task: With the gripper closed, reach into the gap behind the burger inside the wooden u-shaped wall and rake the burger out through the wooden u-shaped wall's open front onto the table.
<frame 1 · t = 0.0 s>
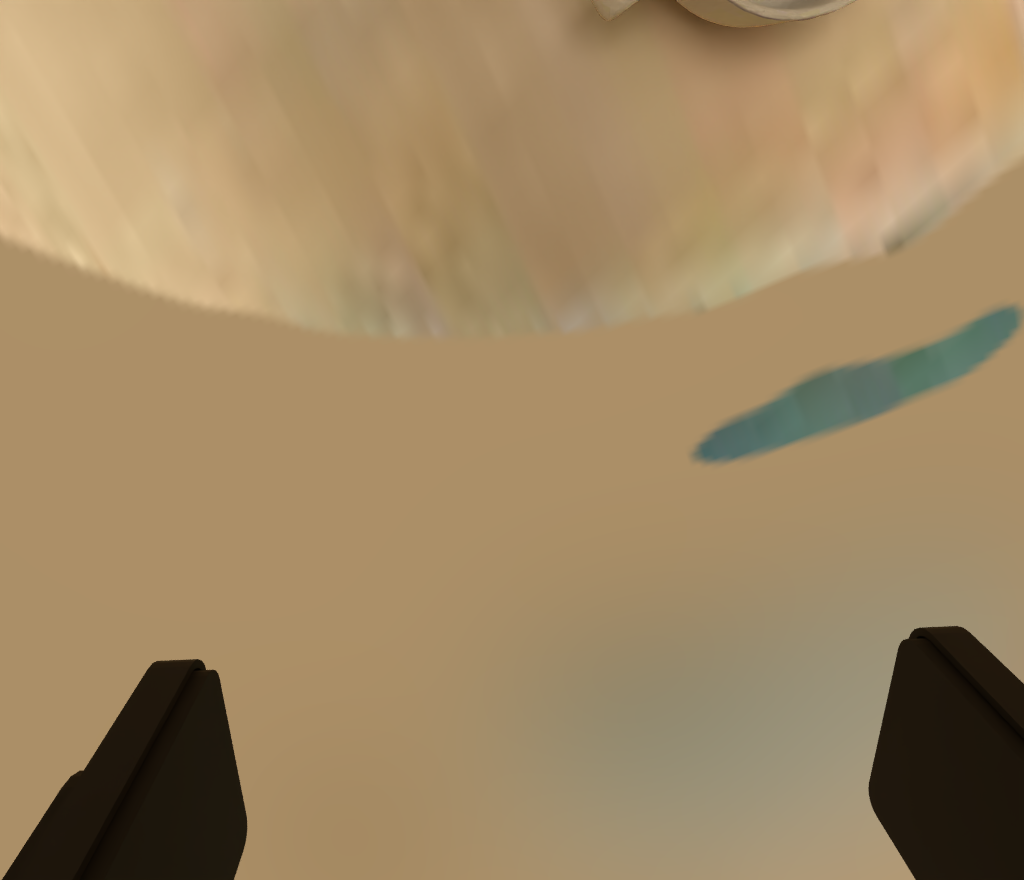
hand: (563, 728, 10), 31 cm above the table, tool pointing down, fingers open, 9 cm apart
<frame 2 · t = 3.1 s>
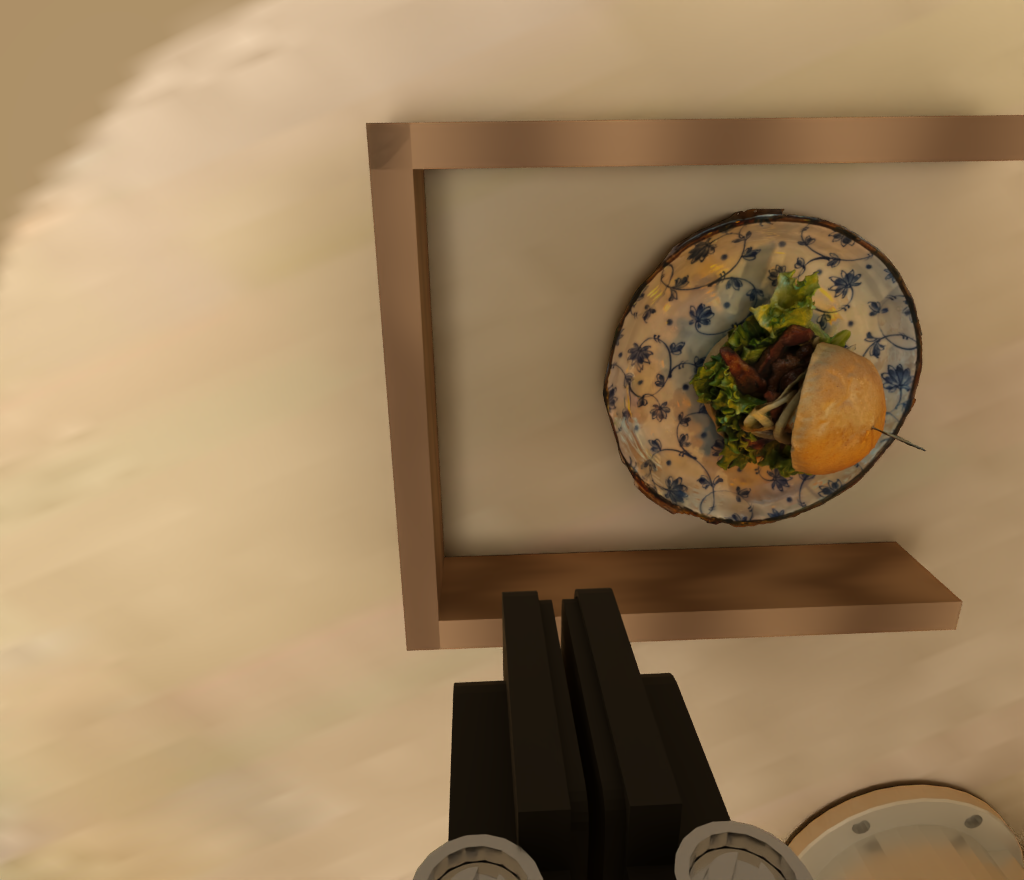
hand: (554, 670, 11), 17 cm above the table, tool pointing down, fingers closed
wooden u-shaped wall: (669, 375, 28), on the table
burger: (745, 370, 28), on the table
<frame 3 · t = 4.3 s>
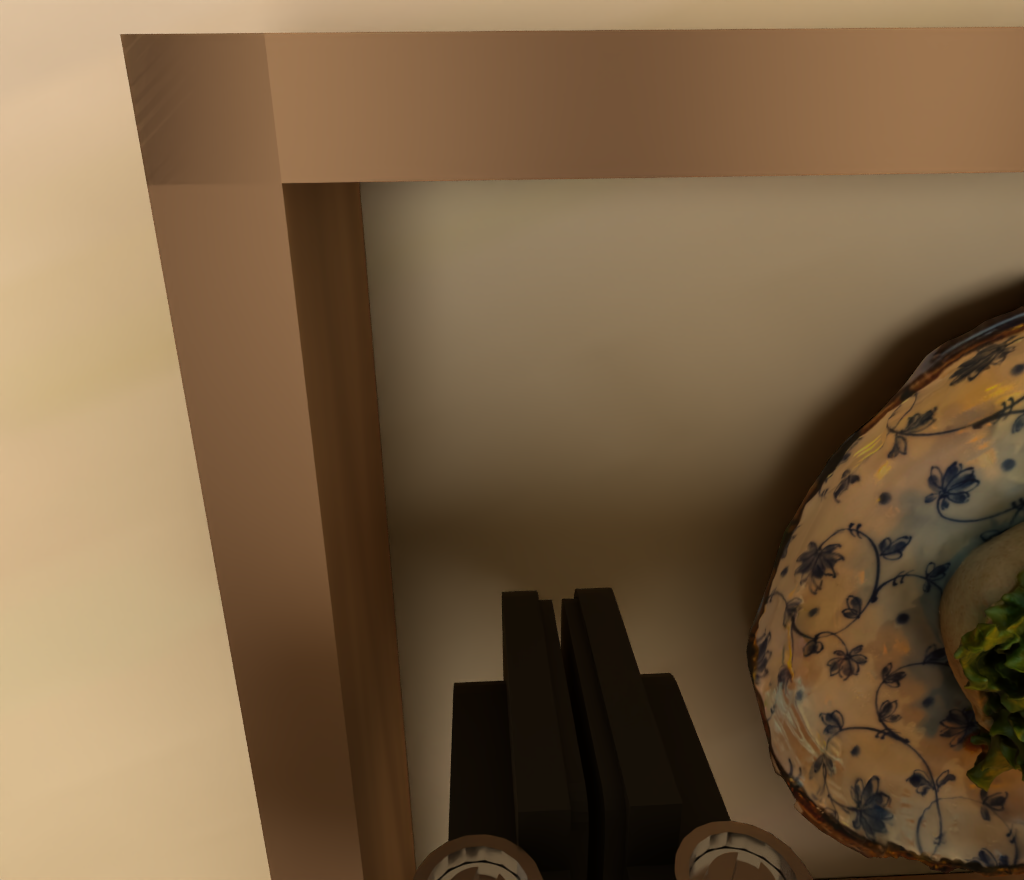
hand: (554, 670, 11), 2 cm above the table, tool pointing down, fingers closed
wooden u-shaped wall: (867, 592, 14), on the table
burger: (1008, 572, 14), on the table
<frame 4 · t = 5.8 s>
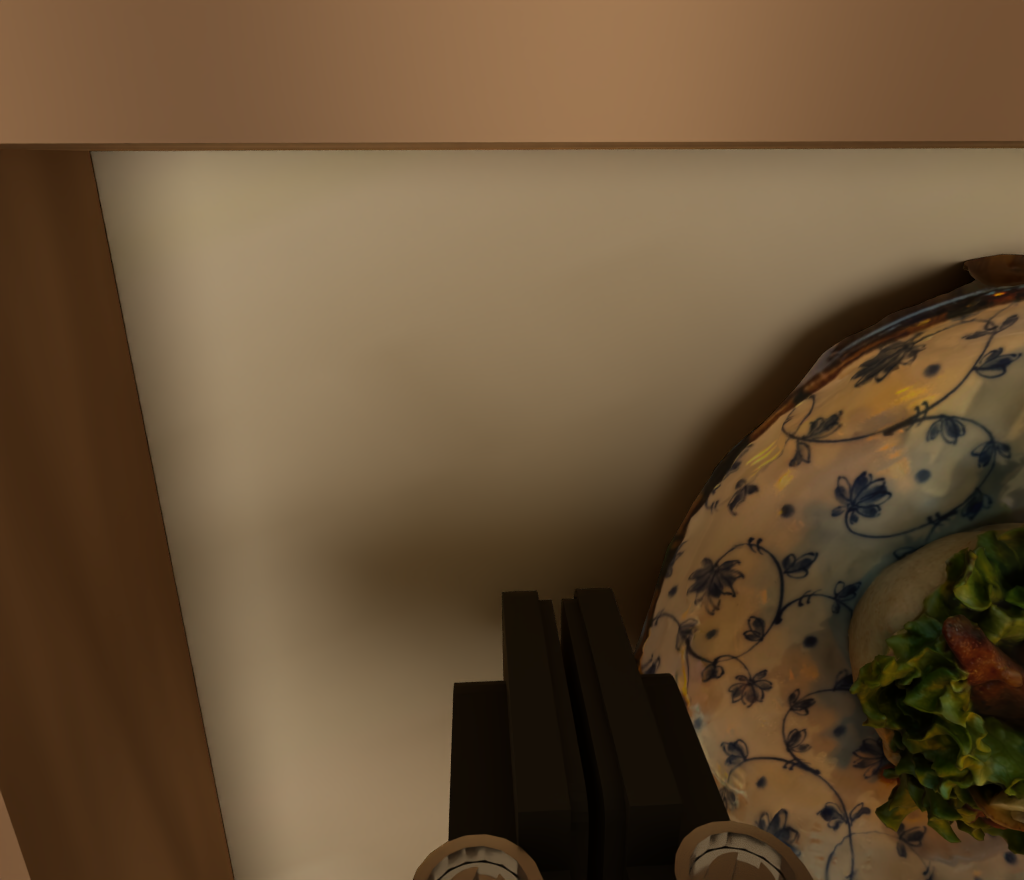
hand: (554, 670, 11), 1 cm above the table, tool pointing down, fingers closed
wooden u-shaped wall: (711, 617, 13), on the table
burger: (929, 591, 13), on the table, touching gripper
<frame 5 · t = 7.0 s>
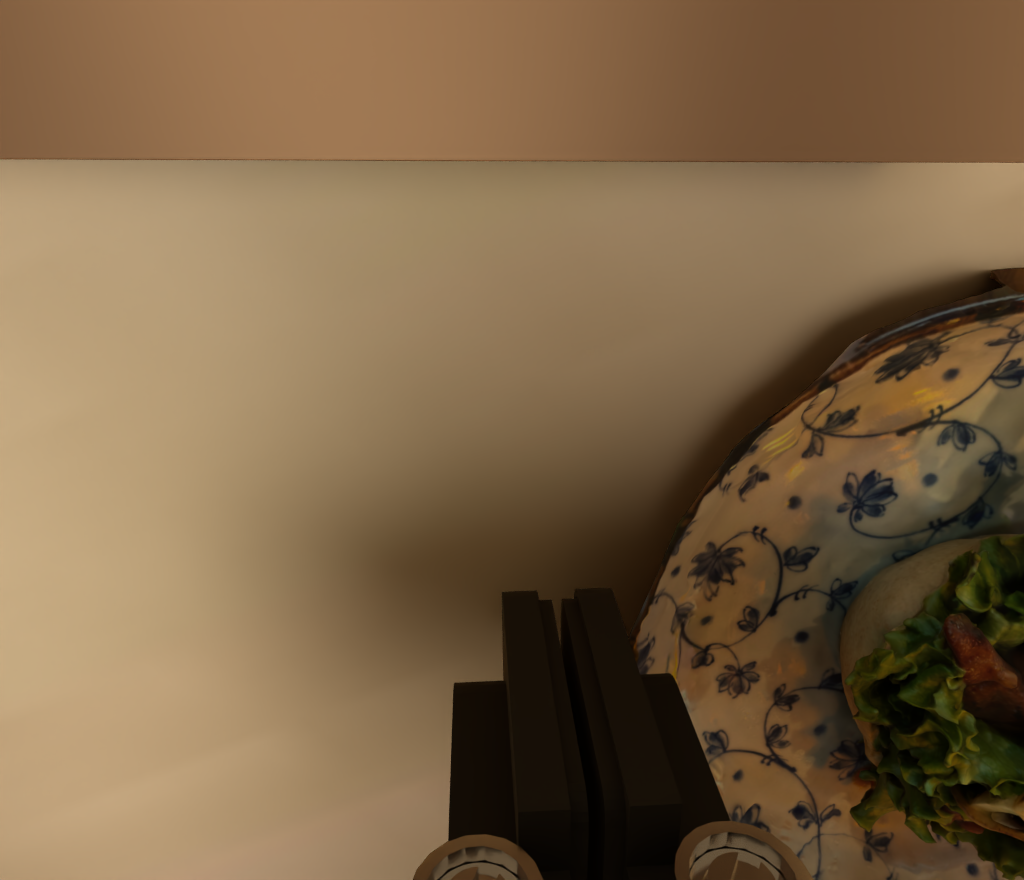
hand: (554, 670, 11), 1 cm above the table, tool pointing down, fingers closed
wooden u-shaped wall: (220, 635, 12), on the table
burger: (919, 599, 13), on the table
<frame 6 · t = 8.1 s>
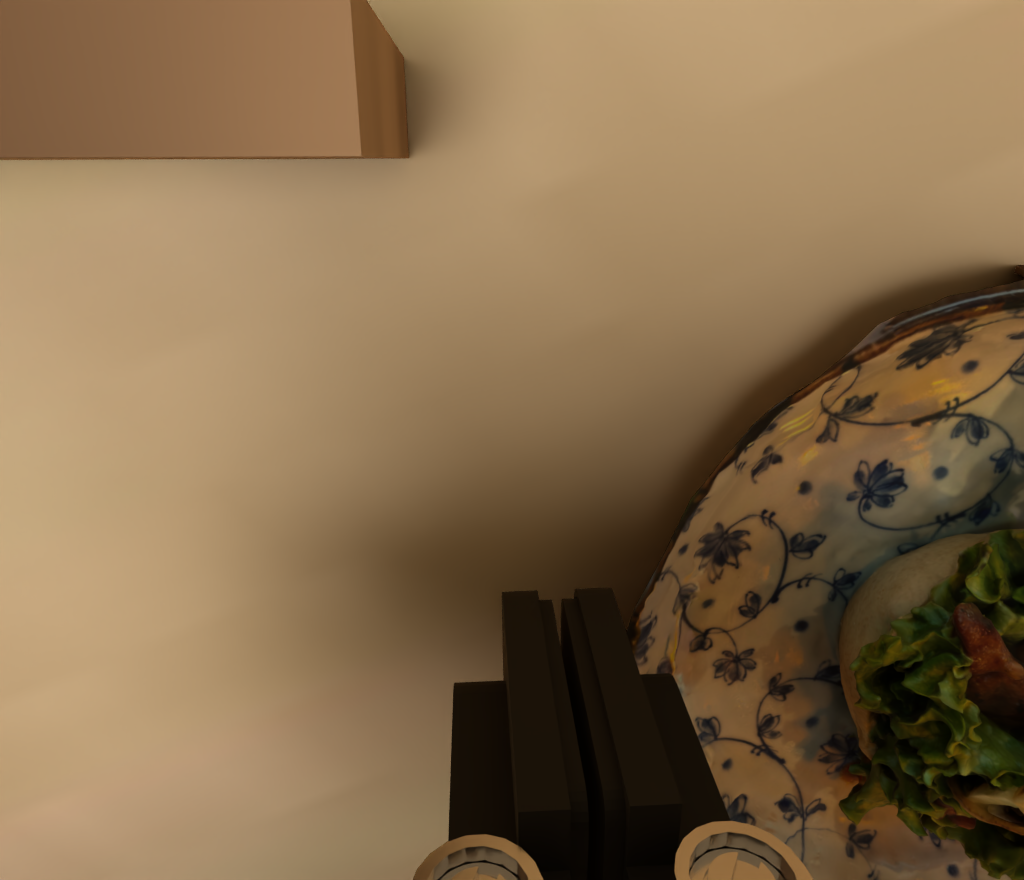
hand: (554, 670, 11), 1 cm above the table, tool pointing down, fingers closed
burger: (917, 596, 13), on the table, touching gripper
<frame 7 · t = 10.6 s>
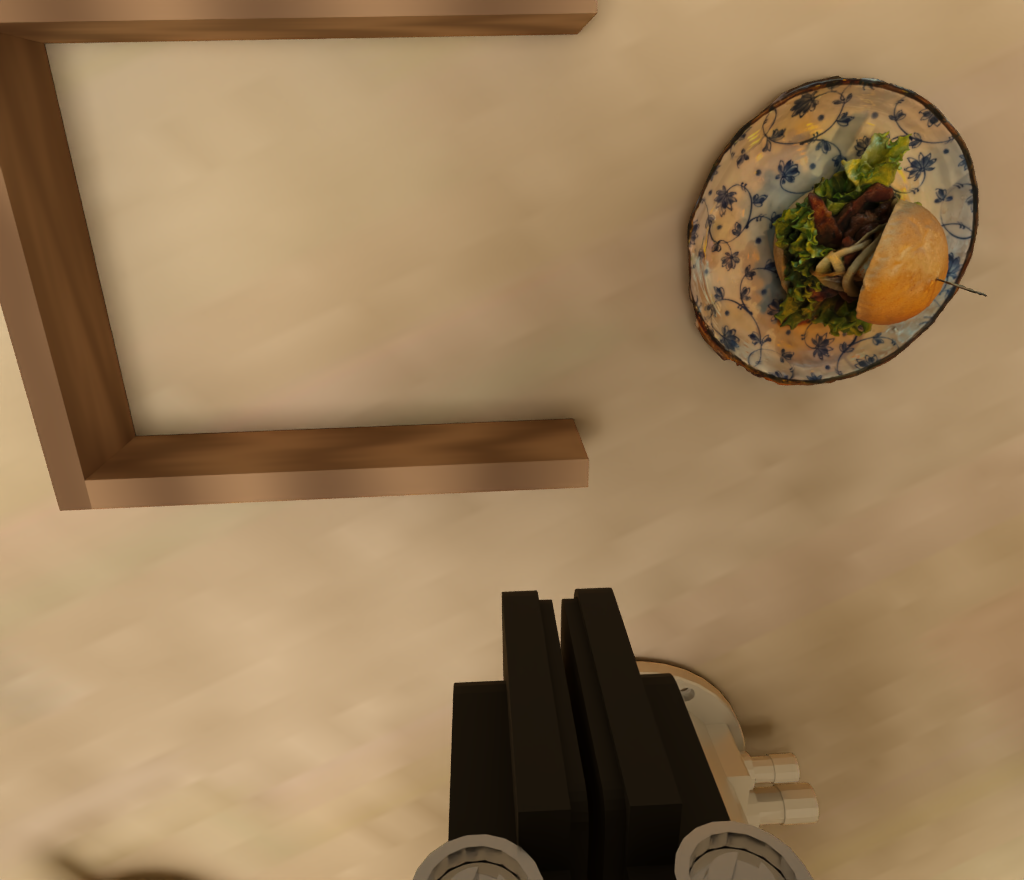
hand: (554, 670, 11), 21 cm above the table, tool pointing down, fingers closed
wooden u-shaped wall: (322, 252, 29), on the table
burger: (810, 239, 30), on the table
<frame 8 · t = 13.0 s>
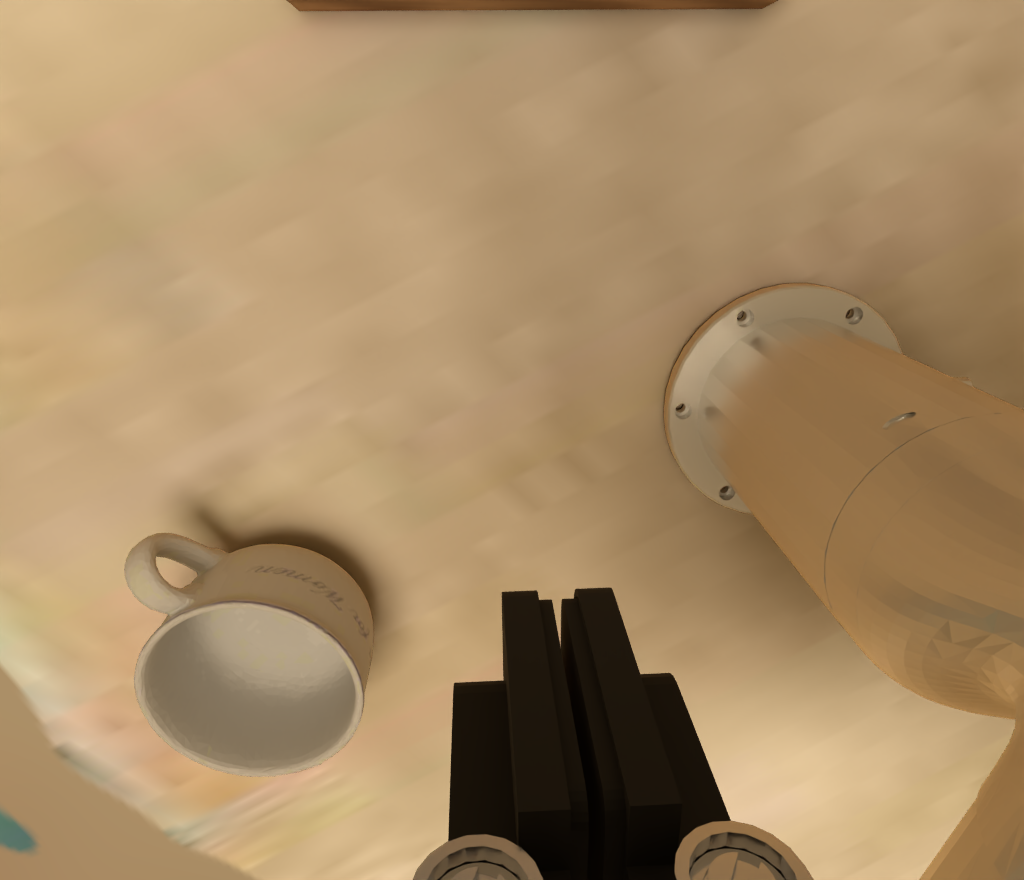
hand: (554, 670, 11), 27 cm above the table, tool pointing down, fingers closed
teacup: (274, 580, 41), on the table
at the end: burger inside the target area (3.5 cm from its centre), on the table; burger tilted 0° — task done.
